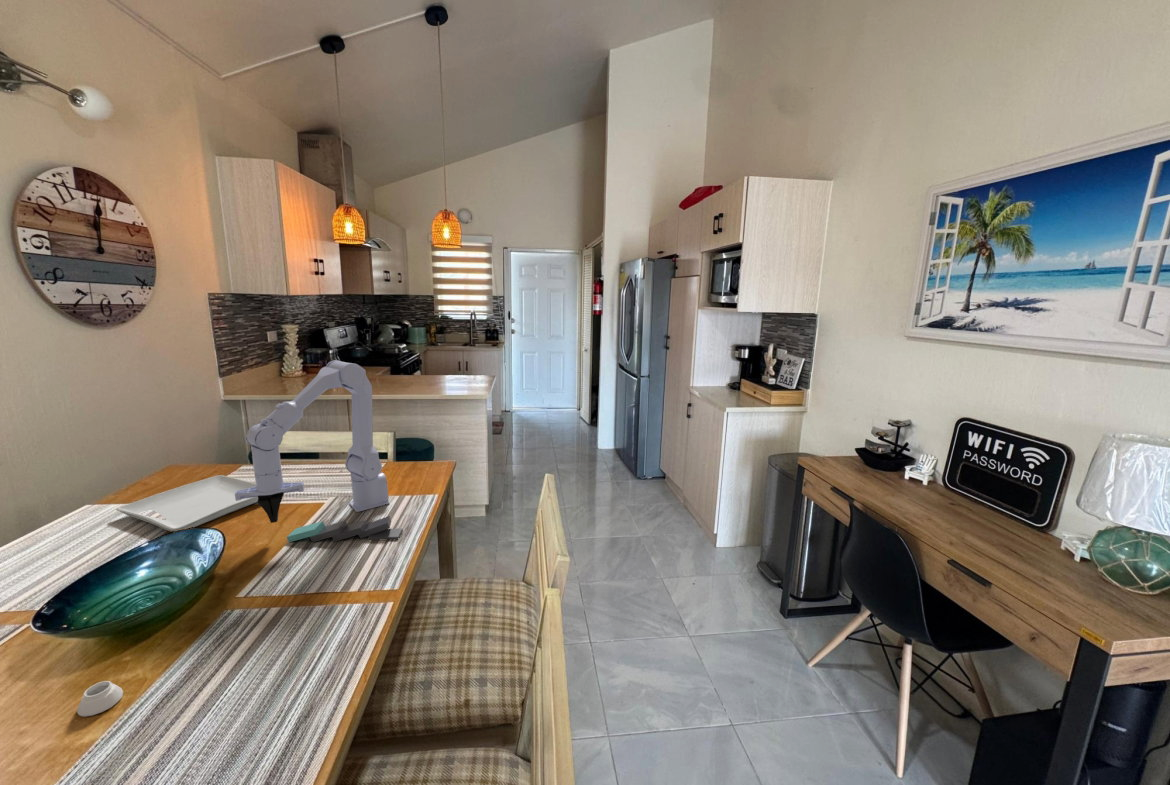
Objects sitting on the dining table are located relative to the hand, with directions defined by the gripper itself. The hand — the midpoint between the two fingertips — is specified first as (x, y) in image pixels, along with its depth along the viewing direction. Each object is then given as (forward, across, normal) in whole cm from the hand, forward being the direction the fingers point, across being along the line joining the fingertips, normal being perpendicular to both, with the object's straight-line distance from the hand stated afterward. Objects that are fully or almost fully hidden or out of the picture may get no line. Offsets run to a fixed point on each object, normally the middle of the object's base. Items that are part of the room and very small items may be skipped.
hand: (274, 520), depth 122 cm
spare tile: (+4, -4, +1) cm, 6 cm away
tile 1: (+5, -22, +8) cm, 24 cm away
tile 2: (+4, -20, +7) cm, 21 cm away
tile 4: (+4, -9, +4) cm, 11 cm away
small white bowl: (+5, +18, +47) cm, 51 cm away
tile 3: (+4, -14, +6) cm, 16 cm away
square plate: (+6, +22, -28) cm, 36 cm away
